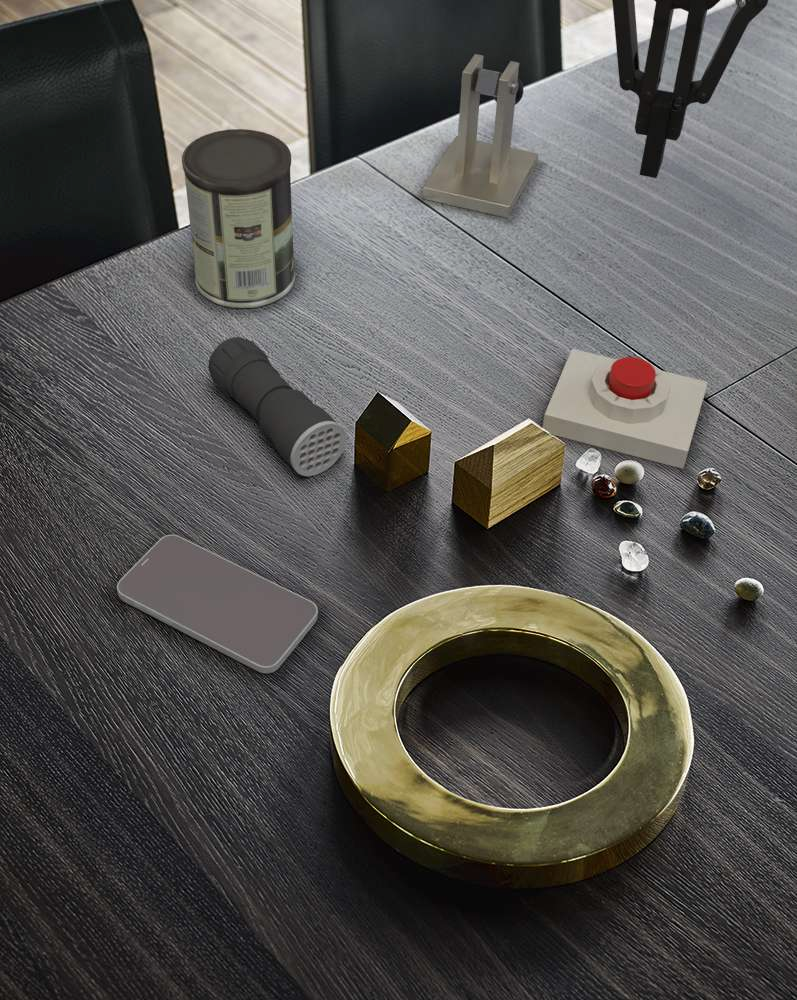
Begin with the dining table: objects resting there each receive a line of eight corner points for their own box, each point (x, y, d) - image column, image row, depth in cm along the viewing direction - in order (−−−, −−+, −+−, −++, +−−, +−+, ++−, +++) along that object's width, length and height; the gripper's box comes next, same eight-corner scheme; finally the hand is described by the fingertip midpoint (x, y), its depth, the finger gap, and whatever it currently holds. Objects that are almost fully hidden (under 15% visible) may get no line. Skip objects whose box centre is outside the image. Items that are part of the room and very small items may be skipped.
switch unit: (455, 146, 148) (463, 34, 138) (537, 164, 146) (551, 51, 136) (422, 199, 140) (428, 83, 130) (508, 218, 138) (521, 102, 128)
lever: (492, 104, 146) (499, 72, 145) (522, 110, 145) (529, 78, 144) (467, 96, 134) (474, 61, 133) (499, 102, 133) (507, 67, 132)
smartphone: (270, 672, 93) (110, 589, 98) (270, 680, 94) (111, 597, 99) (323, 606, 98) (168, 530, 102) (323, 613, 98) (169, 537, 103)
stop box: (703, 399, 118) (712, 366, 115) (683, 469, 111) (692, 436, 108) (568, 366, 120) (574, 333, 118) (541, 432, 114) (546, 399, 111)
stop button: (656, 377, 114) (660, 363, 113) (647, 405, 111) (650, 390, 110) (613, 367, 115) (616, 352, 114) (603, 394, 112) (606, 379, 111)
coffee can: (256, 238, 133) (250, 117, 123) (315, 284, 128) (313, 162, 118) (174, 272, 129) (160, 149, 119) (231, 322, 123) (221, 198, 113)
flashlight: (204, 388, 116) (199, 343, 113) (254, 367, 119) (251, 322, 115) (294, 485, 108) (292, 439, 104) (346, 460, 110) (346, 414, 106)
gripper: (802, -125, 92) (732, 161, 109) (627, -150, 95) (585, 133, 112) (792, -88, 87) (720, 206, 104) (607, -115, 90) (567, 176, 107)
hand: (650, 168), depth 108 cm, fingers closed
